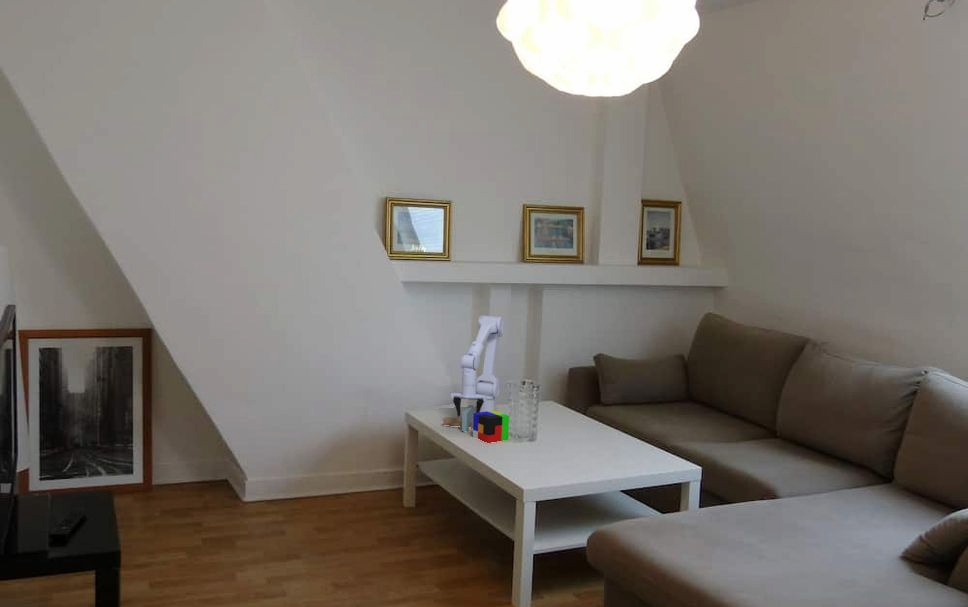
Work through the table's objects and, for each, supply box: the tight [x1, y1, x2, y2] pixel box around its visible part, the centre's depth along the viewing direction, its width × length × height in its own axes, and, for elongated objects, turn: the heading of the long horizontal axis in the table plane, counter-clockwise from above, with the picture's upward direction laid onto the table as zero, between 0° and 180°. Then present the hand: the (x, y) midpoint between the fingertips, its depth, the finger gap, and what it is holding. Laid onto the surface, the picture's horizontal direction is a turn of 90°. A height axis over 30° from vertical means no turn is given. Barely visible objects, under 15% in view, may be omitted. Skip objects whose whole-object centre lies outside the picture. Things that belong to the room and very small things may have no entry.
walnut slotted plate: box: [443, 416, 473, 428], centre depth 376 cm, size 20×2×4 cm, turn 80°
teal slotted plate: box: [461, 404, 475, 432], centre depth 375 cm, size 14×2×8 cm, turn 170°
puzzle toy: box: [472, 410, 510, 444], centre depth 360 cm, size 10×10×10 cm
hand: (468, 416), depth 375 cm, fingers open, 7 cm apart
